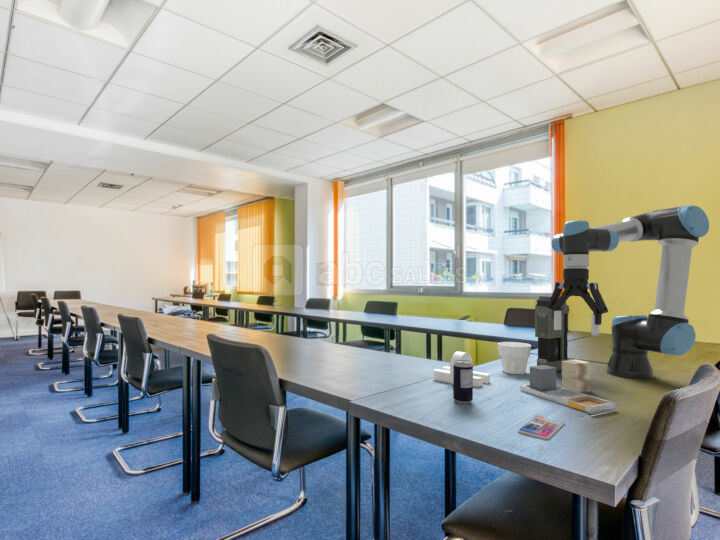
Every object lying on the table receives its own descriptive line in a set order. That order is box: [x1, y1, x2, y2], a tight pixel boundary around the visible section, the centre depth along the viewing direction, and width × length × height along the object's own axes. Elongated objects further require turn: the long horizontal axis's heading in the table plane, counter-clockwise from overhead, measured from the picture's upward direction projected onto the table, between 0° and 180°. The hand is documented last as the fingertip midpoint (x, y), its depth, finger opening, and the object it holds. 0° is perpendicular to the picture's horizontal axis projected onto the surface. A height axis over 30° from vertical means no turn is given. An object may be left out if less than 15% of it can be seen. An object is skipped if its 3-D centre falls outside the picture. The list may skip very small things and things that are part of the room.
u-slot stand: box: [433, 350, 491, 388], centre depth 145 cm, size 10×18×11 cm, turn 47°
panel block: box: [561, 358, 591, 393], centre depth 133 cm, size 7×5×10 cm
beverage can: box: [452, 360, 474, 405], centre depth 122 cm, size 6×6×12 cm
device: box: [534, 295, 570, 375], centre depth 163 cm, size 14×8×30 cm, turn 124°
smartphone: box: [517, 415, 566, 441], centre depth 101 cm, size 7×1×15 cm
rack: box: [519, 383, 616, 416], centre depth 123 cm, size 11×24×2 cm, turn 26°
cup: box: [497, 341, 532, 375], centre depth 161 cm, size 12×12×11 cm
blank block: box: [529, 365, 557, 391], centre depth 131 cm, size 7×5×8 cm
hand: (575, 332), depth 133 cm, fingers open, 13 cm apart
